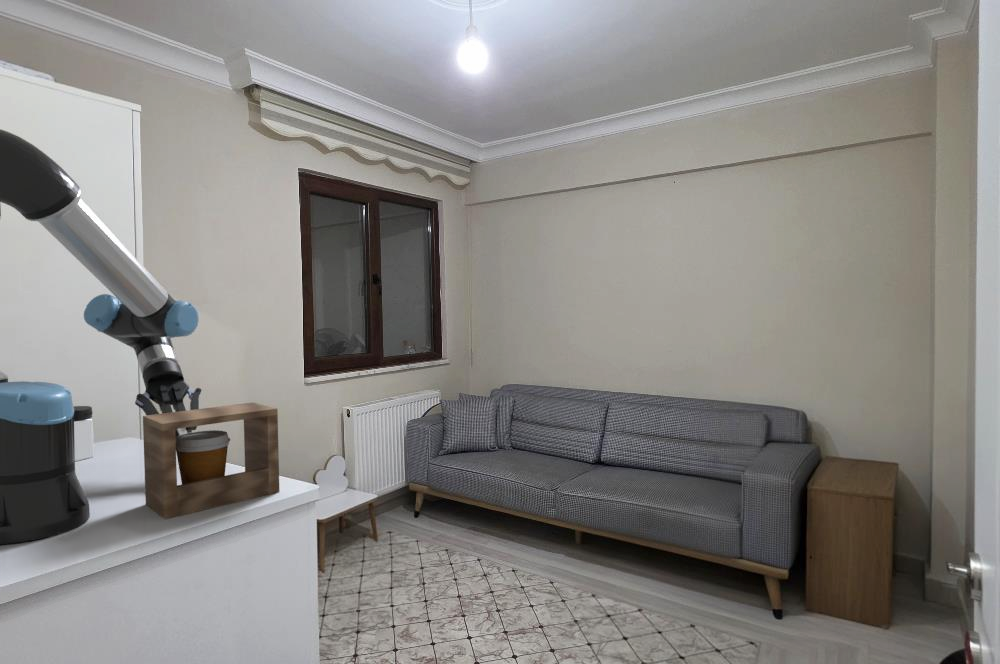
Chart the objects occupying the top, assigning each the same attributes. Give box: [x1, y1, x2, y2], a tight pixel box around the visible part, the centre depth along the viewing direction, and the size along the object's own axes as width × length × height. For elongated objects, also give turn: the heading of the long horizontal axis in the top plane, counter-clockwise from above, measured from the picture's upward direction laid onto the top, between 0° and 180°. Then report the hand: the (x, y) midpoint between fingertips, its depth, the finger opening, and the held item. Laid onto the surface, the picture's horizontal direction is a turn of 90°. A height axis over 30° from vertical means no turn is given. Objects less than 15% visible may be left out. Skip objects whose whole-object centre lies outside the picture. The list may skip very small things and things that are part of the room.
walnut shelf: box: [142, 402, 280, 520], centre depth 110 cm, size 20×11×16 cm, turn 136°
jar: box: [73, 405, 95, 463], centre depth 140 cm, size 9×8×12 cm
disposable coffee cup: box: [176, 430, 231, 485], centre depth 109 cm, size 10×10×12 cm
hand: (188, 457), depth 120 cm, fingers closed
